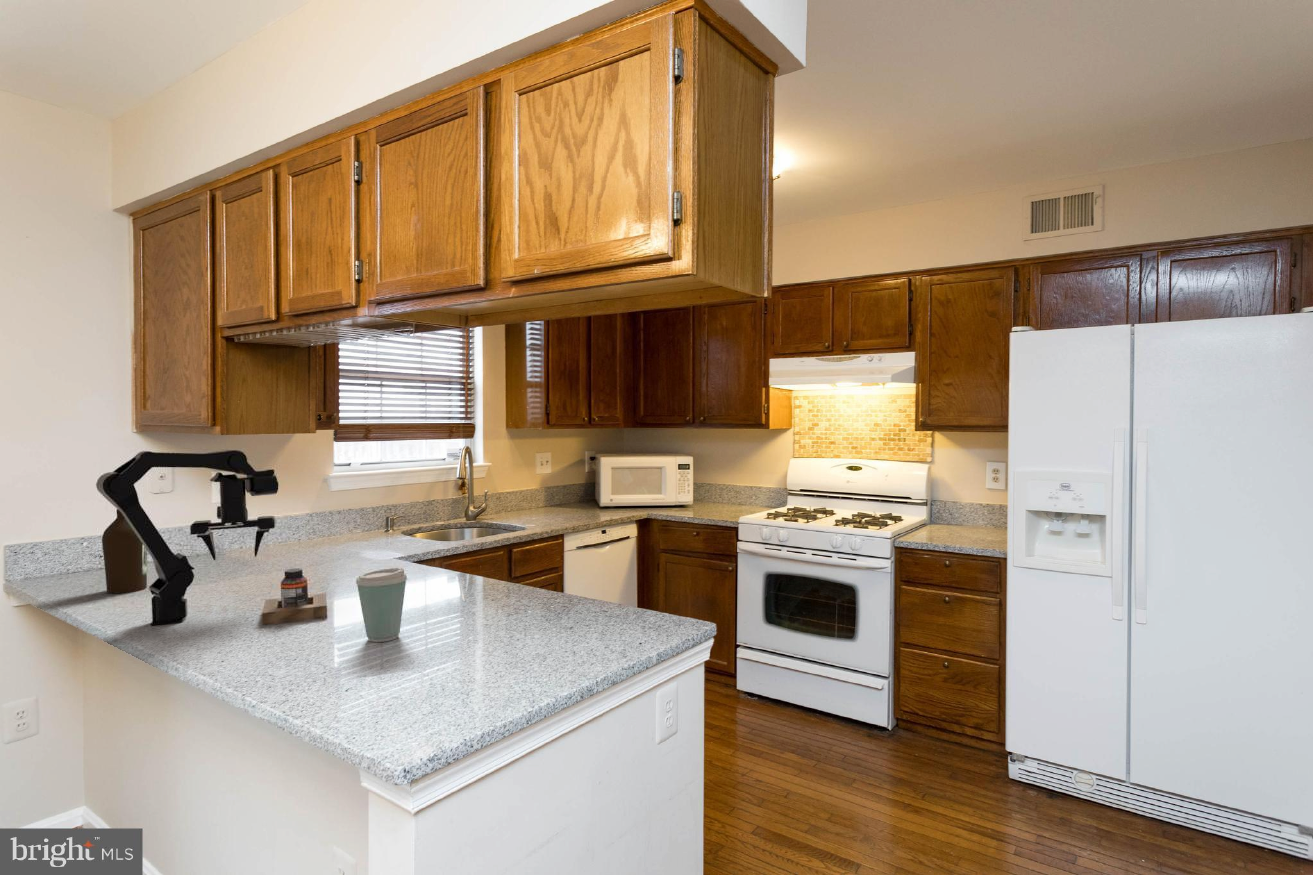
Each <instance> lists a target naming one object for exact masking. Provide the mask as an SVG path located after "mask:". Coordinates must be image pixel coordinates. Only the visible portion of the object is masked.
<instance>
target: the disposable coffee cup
mask: <svg viewBox="0 0 1313 875" xmlns="http://www.w3.org/2000/svg"><path fill="white" fill-rule="evenodd" d="M407 580H408V578H407V574H406V573H405V568H403V567H388V568H382V569H376V570H371V571H368V572H364V573H362V574H360V575H358V577H357V578H356V581H355V584H356V586H357V592H358V596H359V602H360V606H361V613H362V617H363V623H364V628H365V635H366V637H367V639H368V641H369V642H373V643H381V642H382V643H383V642H384V643H385V642H389V641H393V640H395V639H397V638H398V637H399V634H400V632H401V624H402V619H403V618H402V616H403V609H404V608H403V607H404V601H405V592H406V584H407V583H406V582H407Z"/></svg>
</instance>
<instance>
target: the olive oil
mask: <svg viewBox="0 0 1313 875" xmlns="http://www.w3.org/2000/svg"><path fill="white" fill-rule="evenodd" d="M101 546H102V554H103V562H104V572H105V584H106V593H107V594H111V595H112V594H113V595H117V594H129V593H134V592H139V591H142V590H145V589H146V588H147V587H148V586H147V585H148V579H147V578H148V551H147V550H146V548H145V547H144V545H143V544H142V542H141V541H140V539H139V538H138V536H137V535H136V533H135V532H134V531H133V529H132V528H131V526H130V525H129V523H128V522H127V520H126V519H125V517H124V516H123V514H122V513H121V512H120V511H119V510H118V509H117V508H116V518H115V519H114V520H113V521H112V522H111V523H110V524H109V526H107V528H105V530H104V531H103V533H102V537H101Z"/></svg>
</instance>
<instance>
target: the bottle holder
mask: <svg viewBox="0 0 1313 875" xmlns="http://www.w3.org/2000/svg"><path fill="white" fill-rule="evenodd" d="M327 600H328V599H327V592H322V593H315V594H308V605H302V606H294V607H285V608H282V607H281V606H282V601H281V597H279V598H270V599H265V600H264V604H263V608H262V611H261V626H270V625H272V626H273V625H278V624H287V623H294V622H296V623H297V622H302V621H311V620H320V619H326V618H328V603H327Z"/></svg>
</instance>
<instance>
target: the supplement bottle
mask: <svg viewBox="0 0 1313 875" xmlns="http://www.w3.org/2000/svg"><path fill="white" fill-rule="evenodd" d="M308 587H309V586H308V578H307V577H306V576H304V575H303V569H302V568H301V567H300V568H295V567H294V568H288V569H286V570H284V578H283V579H281V582H280V595H281V596H280V598H281V601H282V606H281V607H282V608H285V607H294V606H302V605H308V595H309V591H308V590H309V589H308Z"/></svg>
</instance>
